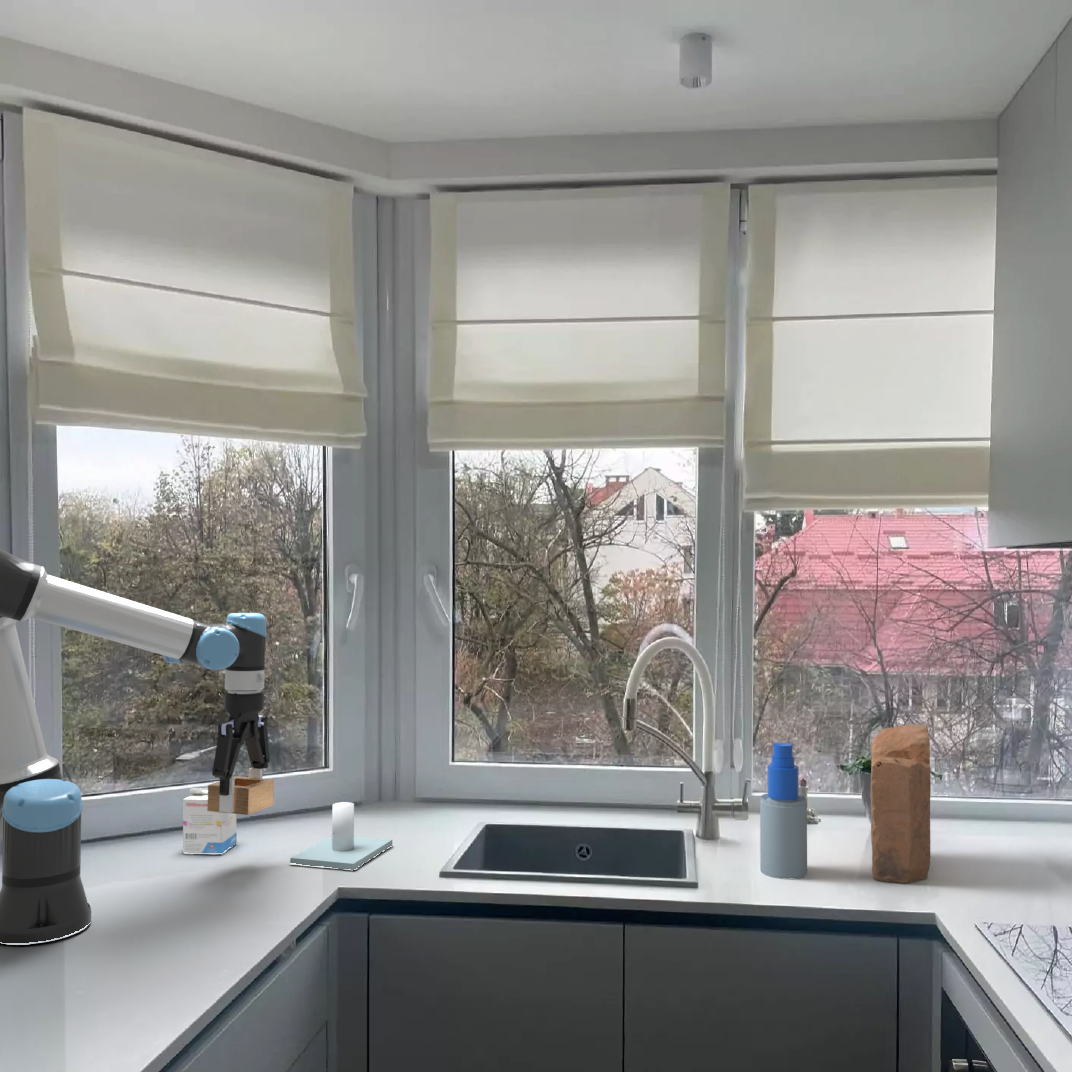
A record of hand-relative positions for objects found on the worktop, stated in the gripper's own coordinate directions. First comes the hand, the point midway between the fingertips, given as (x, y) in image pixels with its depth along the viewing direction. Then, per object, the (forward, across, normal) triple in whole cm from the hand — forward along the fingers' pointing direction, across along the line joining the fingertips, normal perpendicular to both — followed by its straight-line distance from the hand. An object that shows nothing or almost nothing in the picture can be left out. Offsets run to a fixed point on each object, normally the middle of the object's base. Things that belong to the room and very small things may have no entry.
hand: (240, 806), depth 195 cm
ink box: (+13, +12, +14) cm, 23 cm away
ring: (0, 0, 0) cm, 0 cm away
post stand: (+12, +16, -14) cm, 25 cm away
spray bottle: (+11, +31, -102) cm, 108 cm away
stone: (+10, +40, -124) cm, 131 cm away
